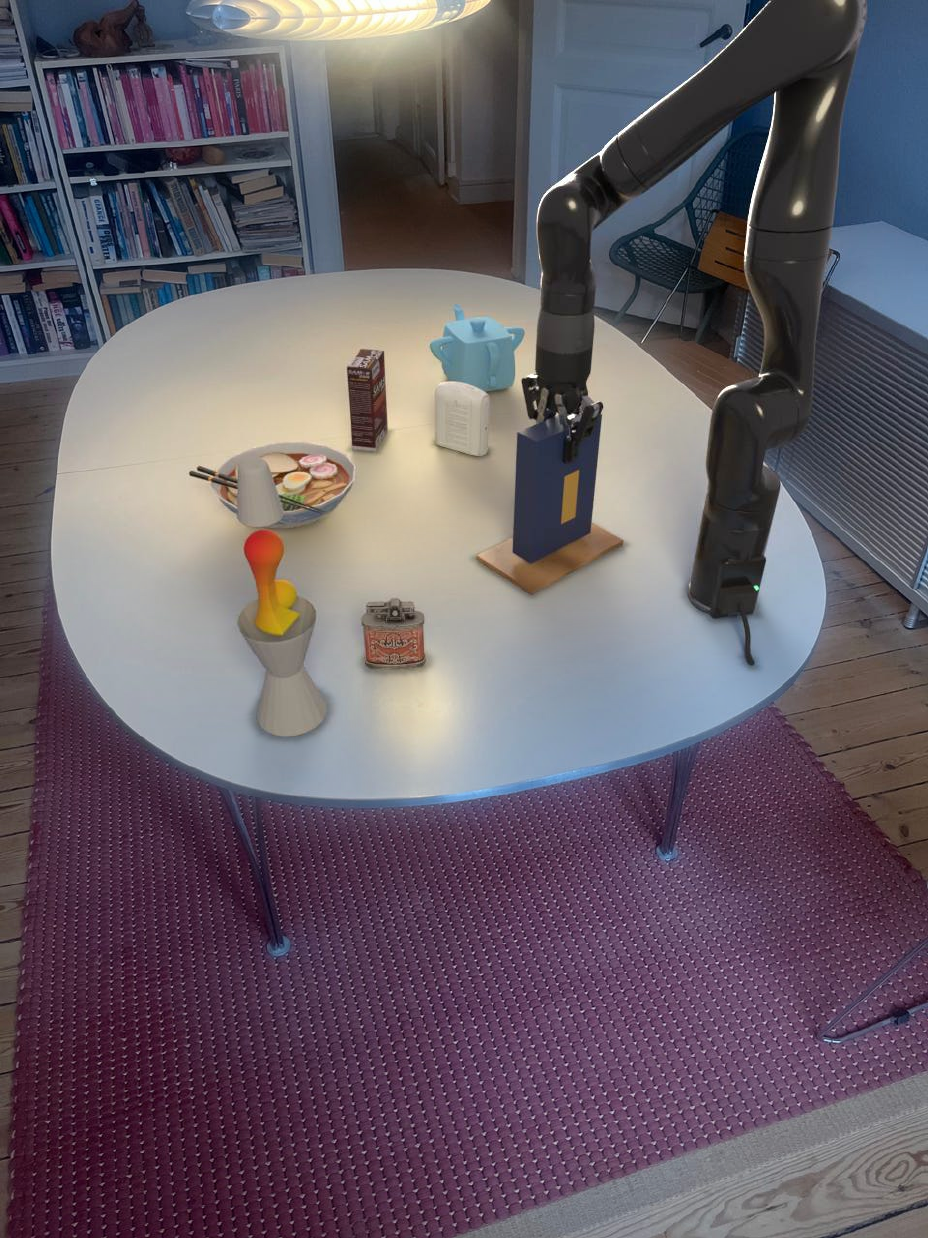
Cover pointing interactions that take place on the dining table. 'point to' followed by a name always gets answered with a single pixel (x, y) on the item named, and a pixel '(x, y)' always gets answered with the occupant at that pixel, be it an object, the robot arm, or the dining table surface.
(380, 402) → the supplement box
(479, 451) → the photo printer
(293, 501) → the ramen bowl
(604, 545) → the cork mat
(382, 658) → the lighter
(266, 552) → the lava lamp
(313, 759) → the dining table surface
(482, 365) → the teapot
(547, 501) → the book
